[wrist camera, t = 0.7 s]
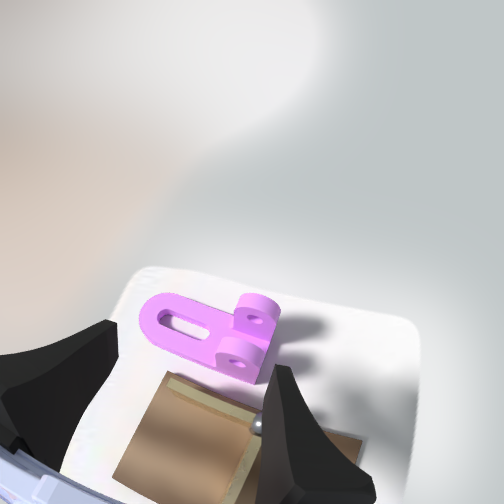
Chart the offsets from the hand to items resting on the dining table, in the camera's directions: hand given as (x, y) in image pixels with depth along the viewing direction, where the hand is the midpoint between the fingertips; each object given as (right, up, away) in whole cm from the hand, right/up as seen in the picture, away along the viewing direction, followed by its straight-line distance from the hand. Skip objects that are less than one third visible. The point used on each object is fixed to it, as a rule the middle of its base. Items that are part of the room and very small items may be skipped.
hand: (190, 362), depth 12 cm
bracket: (-2, -4, +17) cm, 17 cm away
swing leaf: (+2, -13, +8) cm, 16 cm away
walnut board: (+2, -14, +9) cm, 17 cm away
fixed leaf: (0, -9, +11) cm, 14 cm away
